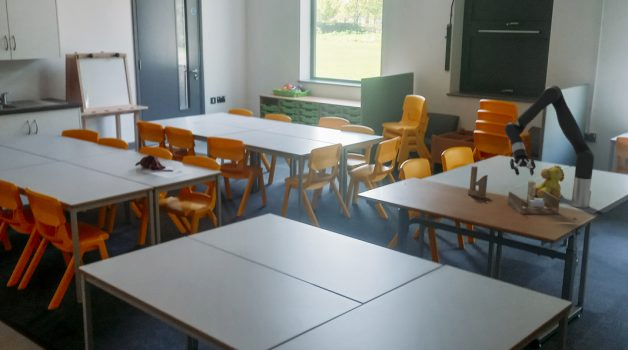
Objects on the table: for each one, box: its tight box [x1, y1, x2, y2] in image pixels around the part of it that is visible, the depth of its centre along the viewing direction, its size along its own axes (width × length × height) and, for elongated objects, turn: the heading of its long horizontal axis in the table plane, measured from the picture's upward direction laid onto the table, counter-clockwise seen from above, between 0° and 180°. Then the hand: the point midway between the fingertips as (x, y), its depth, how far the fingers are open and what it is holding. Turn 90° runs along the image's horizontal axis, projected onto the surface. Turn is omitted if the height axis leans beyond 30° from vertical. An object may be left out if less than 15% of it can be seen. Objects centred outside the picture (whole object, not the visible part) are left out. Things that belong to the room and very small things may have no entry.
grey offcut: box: [528, 199, 545, 207], centre depth 370 cm, size 8×3×3 cm, turn 96°
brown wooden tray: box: [507, 190, 561, 215], centre depth 374 cm, size 22×18×9 cm
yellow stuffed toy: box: [534, 164, 568, 200], centre depth 409 cm, size 20×24×19 cm
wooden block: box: [467, 165, 488, 199], centre depth 403 cm, size 4×11×18 cm, turn 41°
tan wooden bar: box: [525, 180, 537, 202], centre depth 377 cm, size 2×4×15 cm, turn 6°
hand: (525, 174), depth 385 cm, fingers open, 8 cm apart
